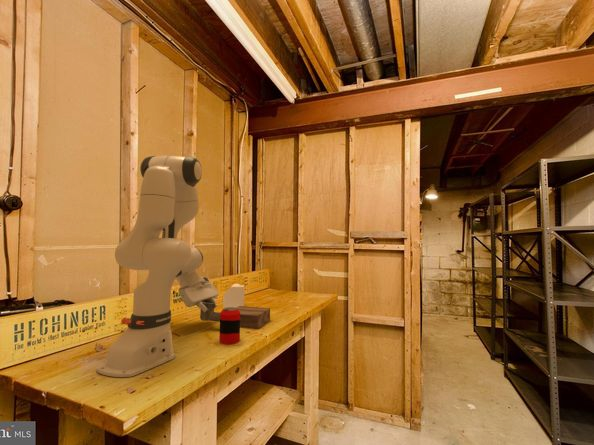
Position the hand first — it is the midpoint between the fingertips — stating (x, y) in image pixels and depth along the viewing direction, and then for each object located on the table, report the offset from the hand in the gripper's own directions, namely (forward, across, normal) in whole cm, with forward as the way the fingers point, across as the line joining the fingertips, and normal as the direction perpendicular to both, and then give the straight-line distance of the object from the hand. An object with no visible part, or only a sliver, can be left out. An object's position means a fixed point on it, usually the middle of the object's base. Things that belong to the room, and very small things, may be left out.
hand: (211, 309), depth 125 cm
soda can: (+17, -10, -5) cm, 20 cm away
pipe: (+4, 0, +4) cm, 5 cm away
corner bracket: (-2, +39, +13) cm, 41 cm away
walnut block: (+14, +13, -2) cm, 19 cm away
